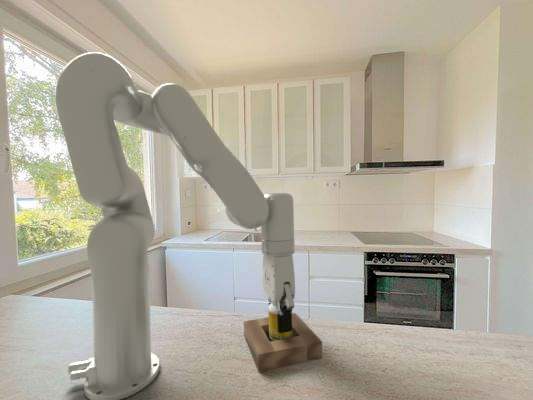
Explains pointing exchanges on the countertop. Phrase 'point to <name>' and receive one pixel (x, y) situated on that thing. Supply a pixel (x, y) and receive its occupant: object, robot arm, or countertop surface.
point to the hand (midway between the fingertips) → (280, 324)
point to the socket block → (281, 344)
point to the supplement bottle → (273, 326)
